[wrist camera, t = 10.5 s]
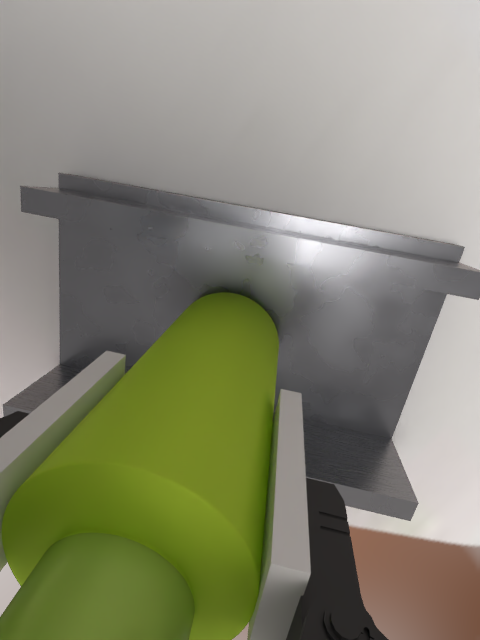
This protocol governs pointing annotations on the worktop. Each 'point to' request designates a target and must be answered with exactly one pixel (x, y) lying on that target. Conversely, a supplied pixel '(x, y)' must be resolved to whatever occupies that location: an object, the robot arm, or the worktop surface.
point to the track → (273, 296)
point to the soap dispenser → (155, 493)
